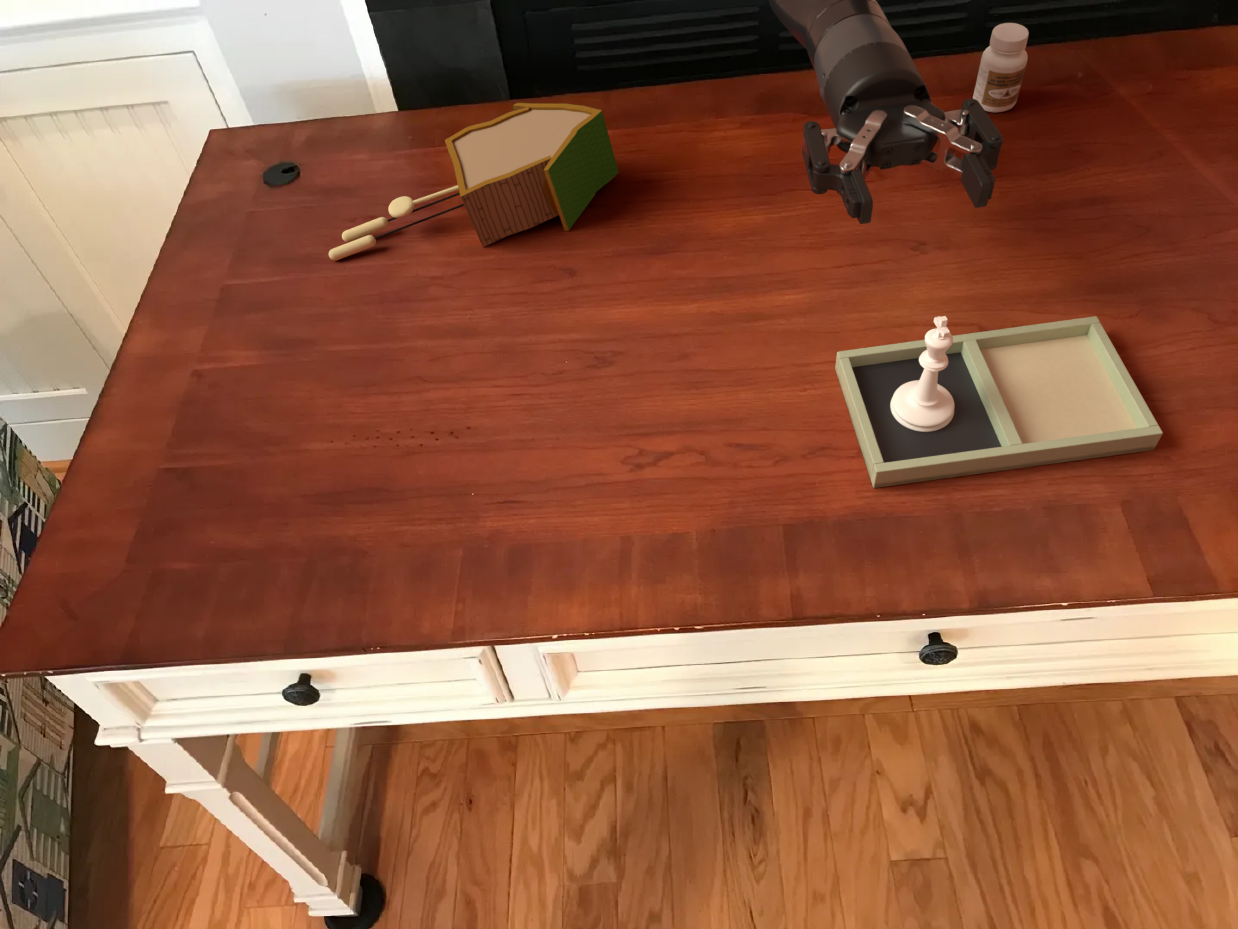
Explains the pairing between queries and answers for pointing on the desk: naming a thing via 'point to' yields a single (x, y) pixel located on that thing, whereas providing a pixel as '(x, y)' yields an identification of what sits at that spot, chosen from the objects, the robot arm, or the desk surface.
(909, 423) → the chess piece
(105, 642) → the desk surface
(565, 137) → the cuckoo clock
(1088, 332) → the sorting tray
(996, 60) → the pill bottle
